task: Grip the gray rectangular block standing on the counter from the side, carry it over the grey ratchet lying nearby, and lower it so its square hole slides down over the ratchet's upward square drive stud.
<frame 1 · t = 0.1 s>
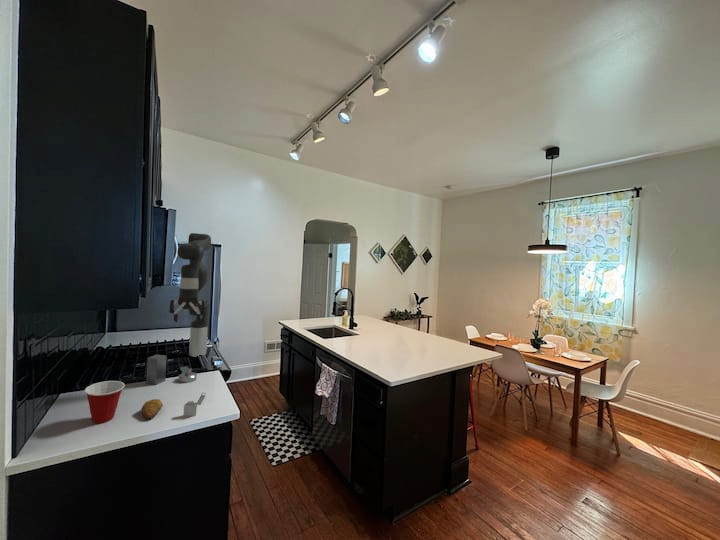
hand: (187, 321, 136), 29 cm above the countertop, tool pointing down, fingers open, 8 cm apart
croissant: (152, 412, 111), on the countertop
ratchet: (187, 379, 141), on the countertop
plastic cup: (103, 420, 104), on the countertop
gray rectangular block: (155, 382, 136), on the countertop
lighter: (194, 415, 111), on the countertop
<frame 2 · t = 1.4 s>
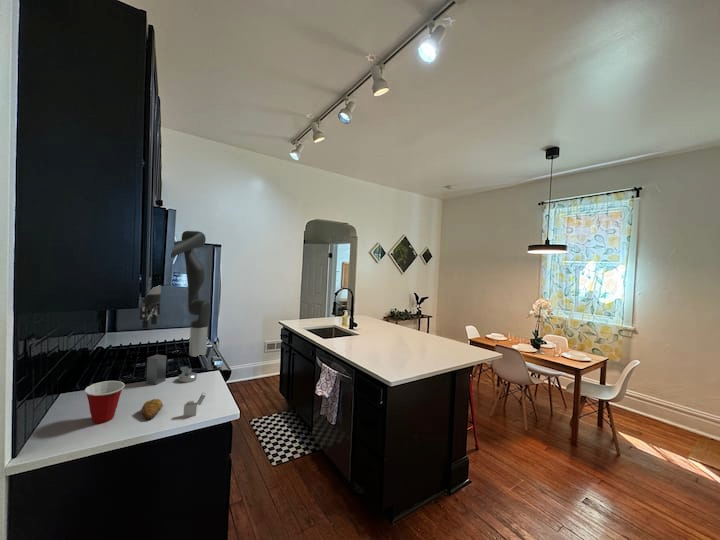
hand: (149, 326, 140), 25 cm above the countertop, tool pointing down, fingers open, 8 cm apart
nothing on the countertop moved.
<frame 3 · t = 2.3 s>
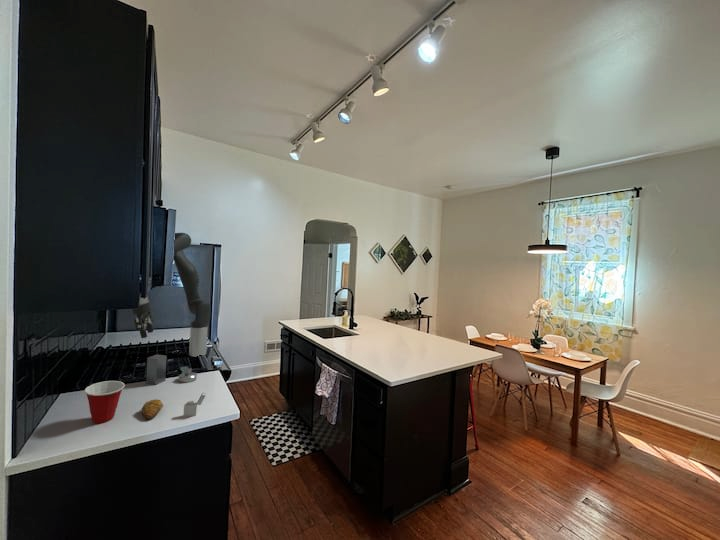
hand: (147, 334, 143), 20 cm above the countertop, tool pointing down, fingers open, 8 cm apart
nothing on the countertop moved.
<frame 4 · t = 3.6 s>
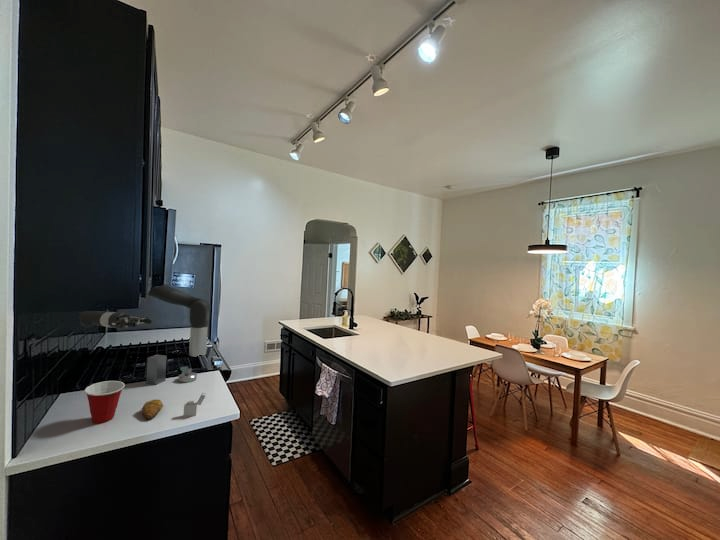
hand: (143, 323, 141), 26 cm above the countertop, tool horizontal, fingers open, 8 cm apart
nothing on the countertop moved.
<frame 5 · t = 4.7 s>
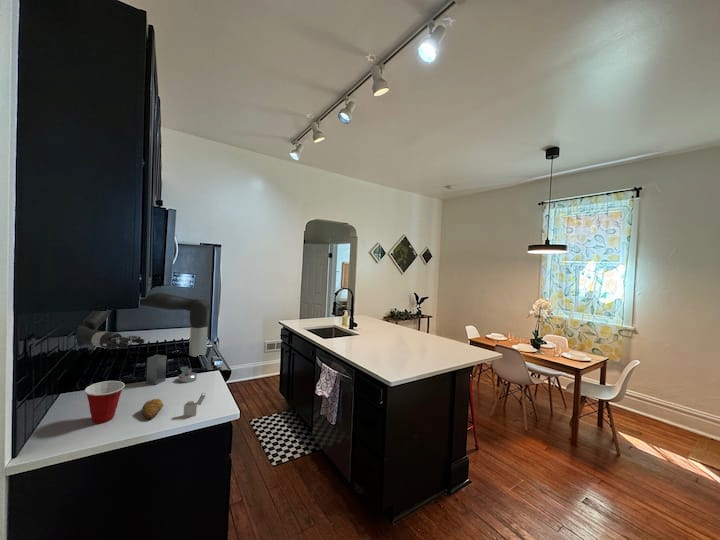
hand: (135, 343, 139), 17 cm above the countertop, tool horizontal, fingers open, 8 cm apart
nothing on the countertop moved.
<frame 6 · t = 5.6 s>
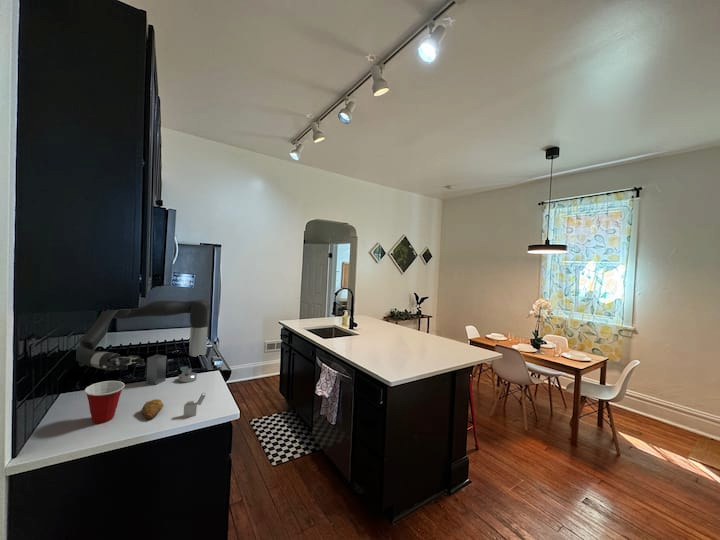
hand: (135, 364, 138), 7 cm above the countertop, tool horizontal, fingers open, 8 cm apart
nothing on the countertop moved.
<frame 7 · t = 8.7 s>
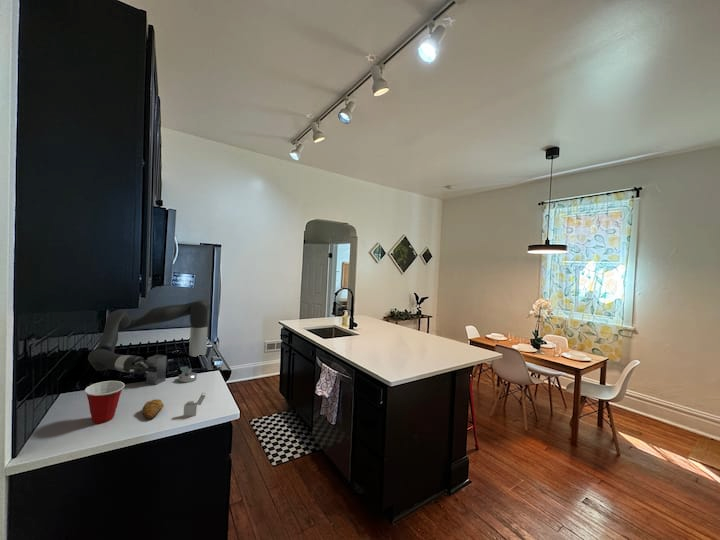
hand: (161, 367, 136), 7 cm above the countertop, tool horizontal, fingers closed on gray rectangular block, 5 cm apart
gray rectangular block: (155, 382, 136), on the countertop, touching gripper
everything else where it was.
when the fingers open (10 cm above the countertop, at t = 14.2 s): gray rectangular block stays where it is, resting on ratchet.
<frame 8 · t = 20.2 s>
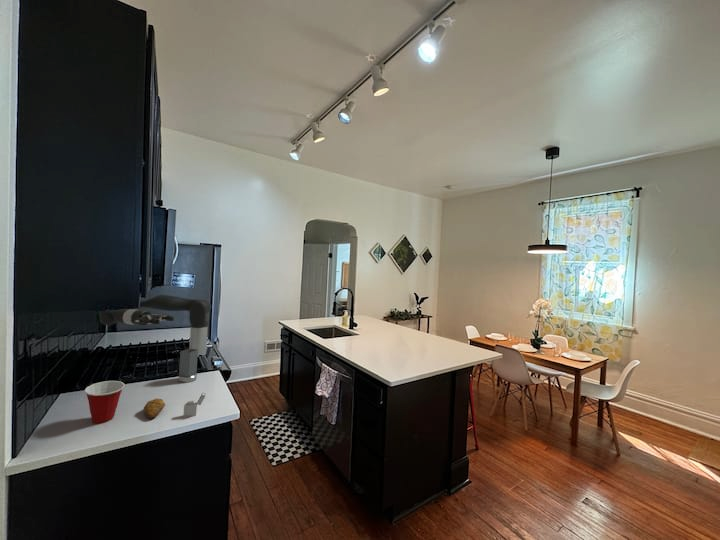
hand: (166, 320, 142), 28 cm above the countertop, tool horizontal, fingers open, 8 cm apart
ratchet: (187, 379, 141), on the countertop, touching gray rectangular block
gray rectangular block: (187, 375, 141), point 2 cm above the countertop, touching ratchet
everything else where it was.
at the end: gray rectangular block 0.0 cm off-centre on the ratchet, point 2.4 cm above the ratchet's base; gray rectangular block tilted 0°; the gripper is holding nothing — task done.
